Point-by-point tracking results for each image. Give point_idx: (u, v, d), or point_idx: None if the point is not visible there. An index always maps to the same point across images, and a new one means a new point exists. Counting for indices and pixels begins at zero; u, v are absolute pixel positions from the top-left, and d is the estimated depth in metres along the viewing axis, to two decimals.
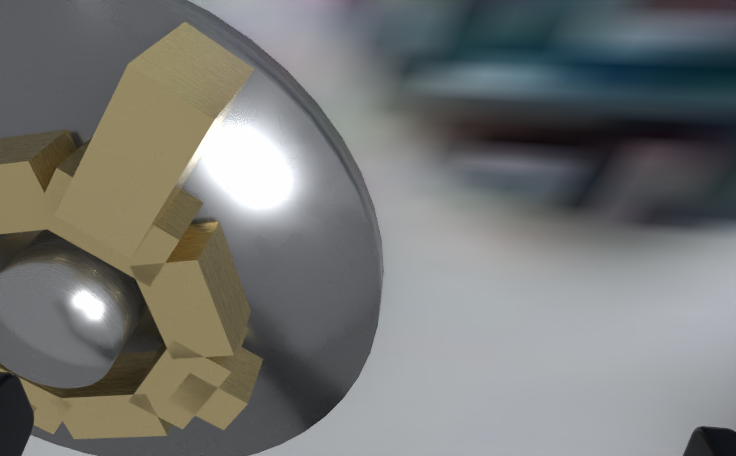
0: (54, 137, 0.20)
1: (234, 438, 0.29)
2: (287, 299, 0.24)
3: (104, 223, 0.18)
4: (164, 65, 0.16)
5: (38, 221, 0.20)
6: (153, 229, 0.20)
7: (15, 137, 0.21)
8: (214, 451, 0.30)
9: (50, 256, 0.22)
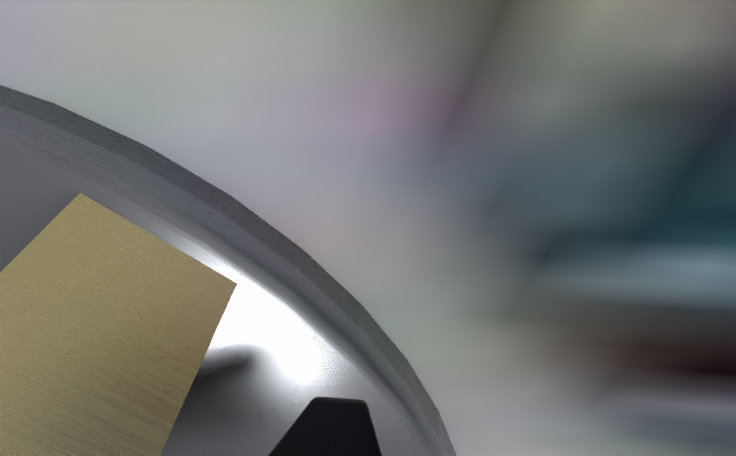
0: None
1: None
2: None
3: None
4: None
5: None
6: None
7: None
8: None
9: None
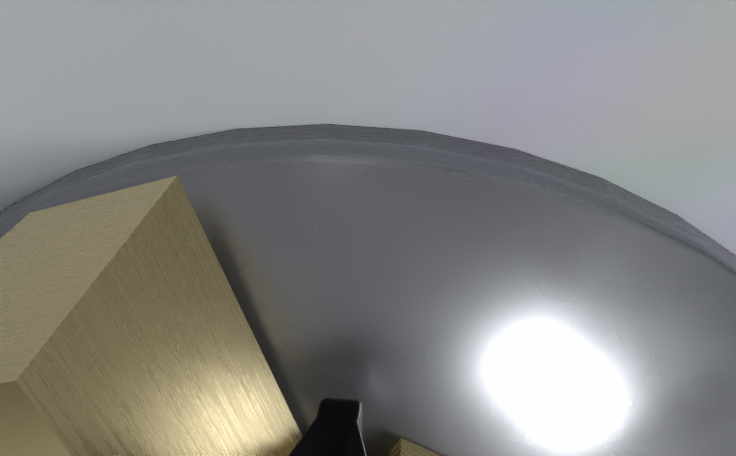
0: None
1: None
2: None
3: None
4: None
5: None
6: None
7: None
8: None
9: None
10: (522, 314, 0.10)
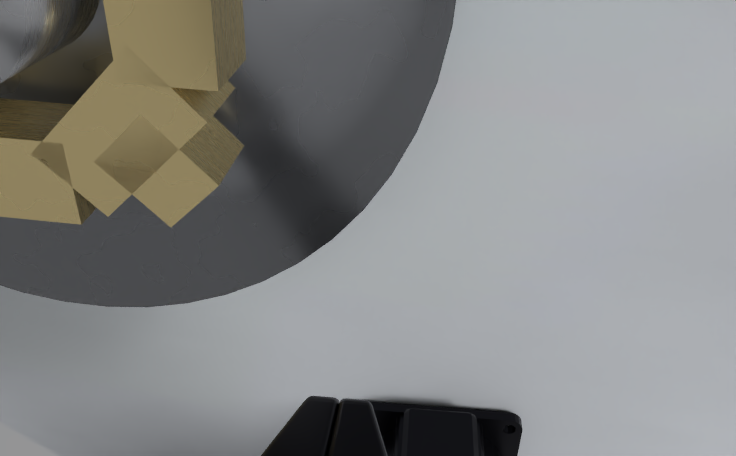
0: None
1: (230, 257, 0.20)
2: None
3: None
4: None
5: None
6: None
7: None
8: (202, 281, 0.21)
9: None
10: None
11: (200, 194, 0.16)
